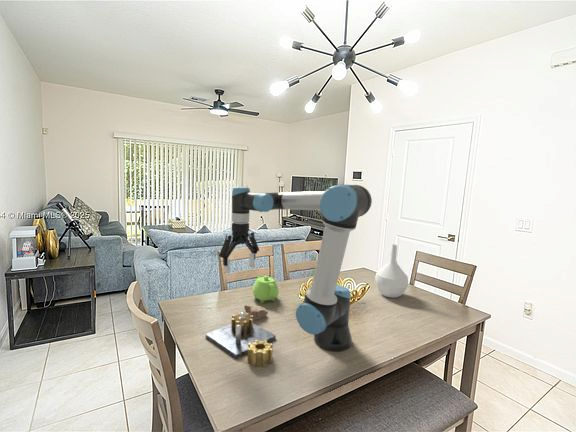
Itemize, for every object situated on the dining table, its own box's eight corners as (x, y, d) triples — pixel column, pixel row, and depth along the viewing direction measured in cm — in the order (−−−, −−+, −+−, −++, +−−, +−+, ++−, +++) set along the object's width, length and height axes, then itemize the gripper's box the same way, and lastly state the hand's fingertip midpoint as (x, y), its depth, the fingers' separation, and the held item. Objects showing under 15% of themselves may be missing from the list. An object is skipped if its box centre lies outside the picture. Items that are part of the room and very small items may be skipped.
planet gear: (277, 359, 110) (277, 346, 109) (258, 370, 103) (259, 356, 103) (260, 349, 116) (261, 337, 115) (242, 359, 109) (242, 346, 109)
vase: (369, 288, 186) (373, 241, 182) (397, 289, 188) (402, 241, 184) (381, 301, 168) (386, 248, 164) (412, 301, 170) (418, 249, 166)
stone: (252, 322, 137) (252, 311, 137) (242, 312, 147) (243, 302, 146) (269, 318, 142) (270, 308, 141) (259, 309, 152) (259, 299, 151)
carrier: (275, 338, 124) (276, 319, 123) (236, 358, 109) (236, 336, 108) (244, 321, 137) (244, 303, 136) (205, 337, 123) (205, 317, 121)
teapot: (246, 293, 170) (247, 272, 168) (268, 290, 176) (269, 269, 174) (261, 308, 152) (262, 283, 151) (284, 303, 159) (285, 280, 157)
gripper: (256, 219, 144) (255, 263, 146) (210, 223, 126) (210, 273, 128) (267, 221, 139) (266, 266, 141) (221, 226, 121) (220, 277, 123)
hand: (239, 269), depth 135 cm, fingers open, 13 cm apart
